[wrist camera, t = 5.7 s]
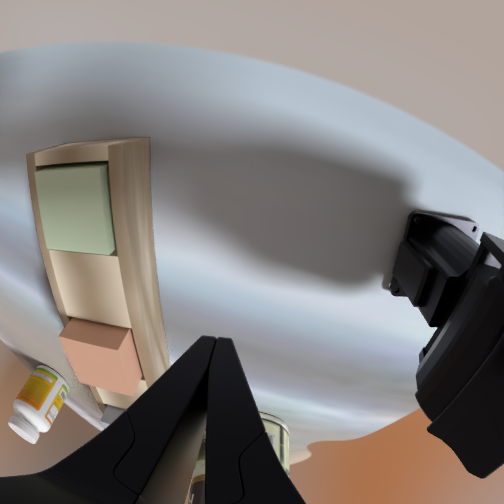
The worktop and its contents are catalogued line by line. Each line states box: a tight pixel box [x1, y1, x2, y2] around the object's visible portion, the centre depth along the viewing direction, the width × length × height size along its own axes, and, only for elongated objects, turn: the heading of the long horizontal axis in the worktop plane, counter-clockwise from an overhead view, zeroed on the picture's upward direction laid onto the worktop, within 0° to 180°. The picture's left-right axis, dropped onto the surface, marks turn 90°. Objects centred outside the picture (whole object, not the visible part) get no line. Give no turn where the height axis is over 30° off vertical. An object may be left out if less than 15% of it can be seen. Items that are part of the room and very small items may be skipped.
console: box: [26, 137, 171, 414], centre depth 22 cm, size 7×29×4 cm, turn 177°
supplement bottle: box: [8, 365, 69, 444], centre depth 25 cm, size 5×5×10 cm
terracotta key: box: [59, 317, 143, 397], centre depth 20 cm, size 5×5×4 cm
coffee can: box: [188, 412, 289, 504], centre depth 24 cm, size 10×10×14 cm
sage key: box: [35, 160, 117, 255], centre depth 17 cm, size 5×5×4 cm
